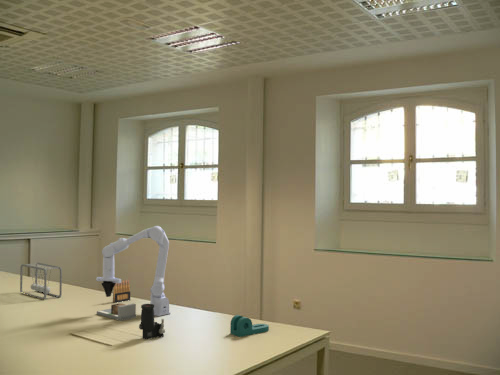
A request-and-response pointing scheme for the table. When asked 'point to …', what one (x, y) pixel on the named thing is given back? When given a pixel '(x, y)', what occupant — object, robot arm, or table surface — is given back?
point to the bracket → (246, 326)
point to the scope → (150, 323)
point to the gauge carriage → (115, 308)
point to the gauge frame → (120, 312)
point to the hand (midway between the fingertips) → (108, 296)
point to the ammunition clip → (121, 292)
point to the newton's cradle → (40, 287)
